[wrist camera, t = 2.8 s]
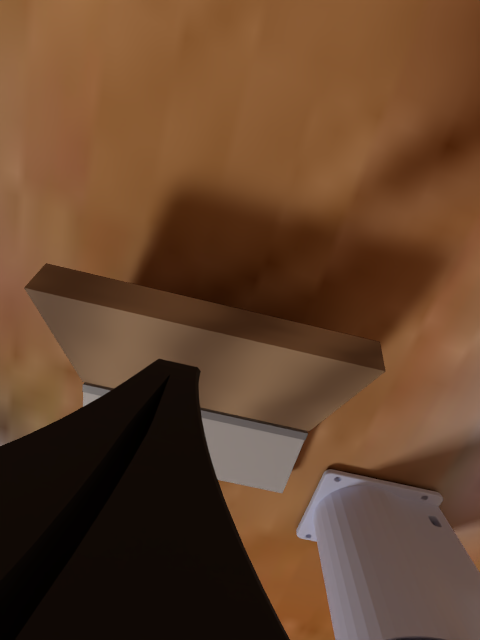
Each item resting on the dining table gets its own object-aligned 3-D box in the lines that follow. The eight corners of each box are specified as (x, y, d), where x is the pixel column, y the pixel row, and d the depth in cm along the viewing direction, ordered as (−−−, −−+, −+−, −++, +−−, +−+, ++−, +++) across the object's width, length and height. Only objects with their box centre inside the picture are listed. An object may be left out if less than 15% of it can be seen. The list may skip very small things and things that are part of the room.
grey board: (303, 417, 20) (307, 433, 19) (280, 475, 22) (282, 494, 21) (95, 370, 20) (82, 384, 18) (93, 435, 22) (81, 452, 20)
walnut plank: (380, 342, 13) (385, 371, 12) (309, 409, 20) (309, 431, 19) (46, 263, 12) (24, 287, 11) (93, 361, 19) (82, 381, 18)
